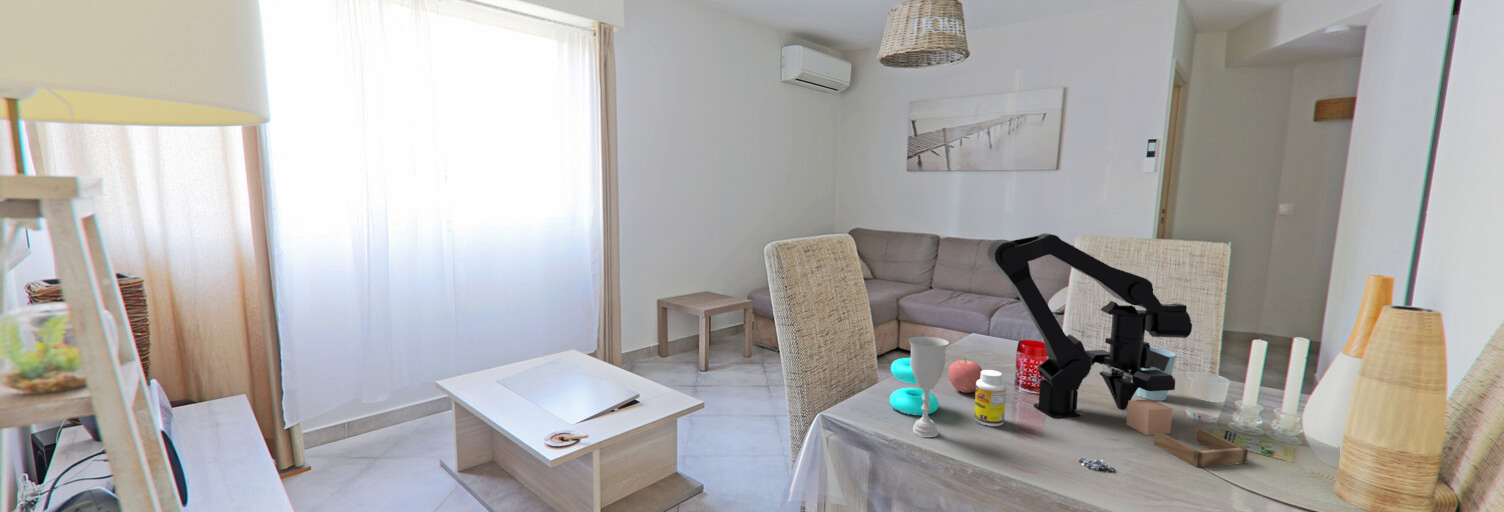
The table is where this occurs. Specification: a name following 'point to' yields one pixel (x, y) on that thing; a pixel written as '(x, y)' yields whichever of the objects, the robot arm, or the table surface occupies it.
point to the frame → (1220, 455)
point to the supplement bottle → (990, 398)
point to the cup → (1159, 394)
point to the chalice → (927, 375)
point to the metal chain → (1096, 465)
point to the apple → (964, 375)
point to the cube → (1149, 416)
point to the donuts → (909, 390)
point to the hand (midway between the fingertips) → (1121, 409)
